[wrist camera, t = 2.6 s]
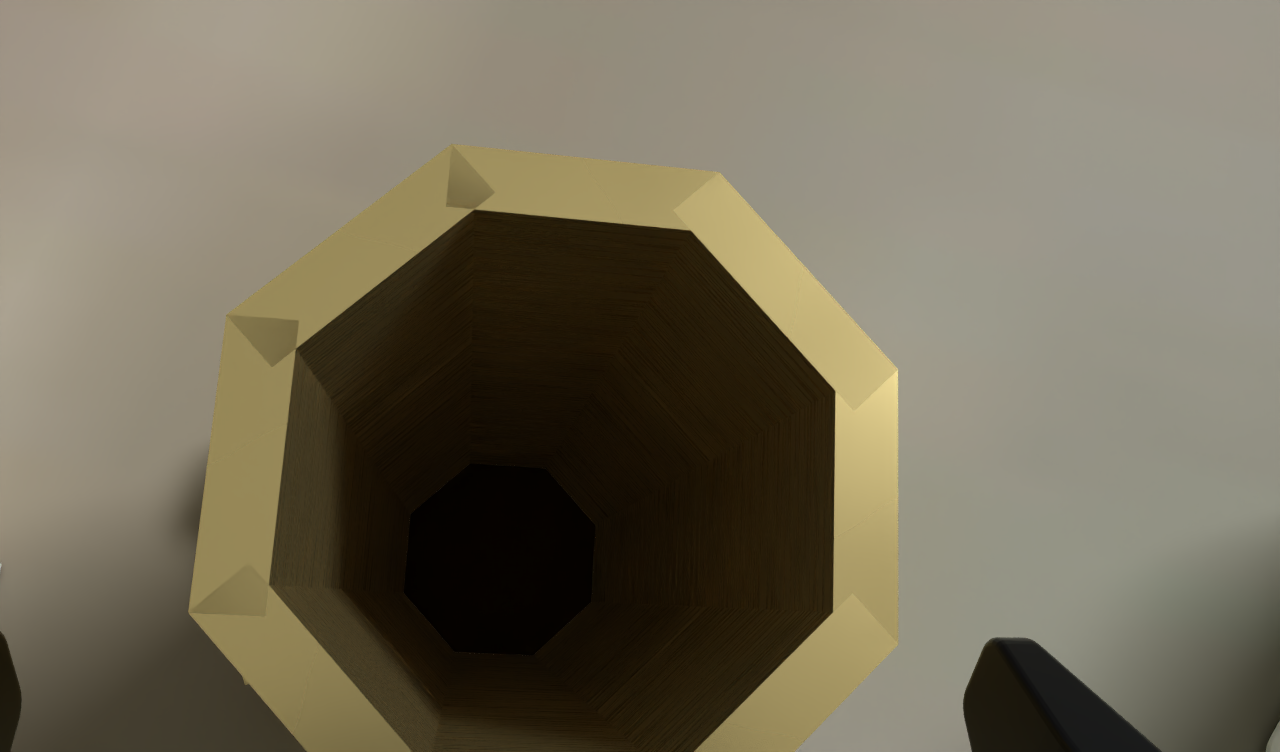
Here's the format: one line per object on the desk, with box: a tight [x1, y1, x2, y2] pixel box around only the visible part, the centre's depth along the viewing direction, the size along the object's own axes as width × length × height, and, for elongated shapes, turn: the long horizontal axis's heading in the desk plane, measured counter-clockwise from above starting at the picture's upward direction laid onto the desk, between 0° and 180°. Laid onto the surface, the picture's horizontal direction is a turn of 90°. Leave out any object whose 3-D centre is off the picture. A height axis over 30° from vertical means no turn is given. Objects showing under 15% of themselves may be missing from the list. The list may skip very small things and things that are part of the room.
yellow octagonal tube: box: [188, 144, 898, 752], centre depth 13 cm, size 8×8×13 cm
